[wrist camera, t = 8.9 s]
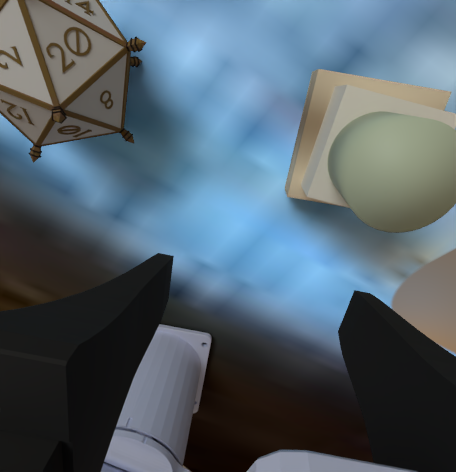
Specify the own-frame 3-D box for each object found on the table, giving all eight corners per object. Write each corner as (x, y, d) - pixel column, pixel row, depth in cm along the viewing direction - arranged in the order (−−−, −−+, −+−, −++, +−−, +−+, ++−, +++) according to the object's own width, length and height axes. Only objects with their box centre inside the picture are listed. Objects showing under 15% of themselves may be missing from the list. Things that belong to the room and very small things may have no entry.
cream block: (388, 207, 19) (406, 222, 17) (300, 184, 19) (306, 196, 17) (433, 113, 17) (461, 115, 15) (334, 86, 17) (347, 84, 15)
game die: (112, 41, 22) (60, -167, 12) (180, 141, 21) (184, 8, 11) (-18, 97, 20) (-209, -100, 10) (53, 210, 19) (-75, 118, 9)
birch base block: (385, 204, 22) (400, 216, 19) (283, 186, 22) (287, 196, 19) (427, 92, 19) (451, 91, 16) (310, 72, 19) (318, 69, 17)
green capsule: (405, 205, 16) (444, 238, 13) (319, 196, 17) (335, 226, 13) (434, 115, 15) (491, 123, 11) (338, 107, 15) (362, 112, 11)
